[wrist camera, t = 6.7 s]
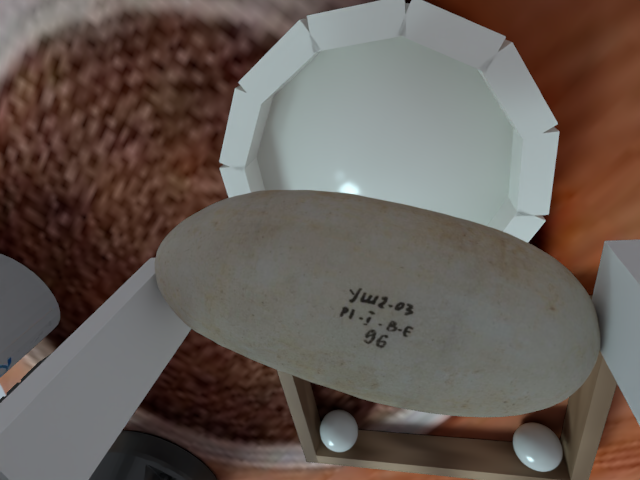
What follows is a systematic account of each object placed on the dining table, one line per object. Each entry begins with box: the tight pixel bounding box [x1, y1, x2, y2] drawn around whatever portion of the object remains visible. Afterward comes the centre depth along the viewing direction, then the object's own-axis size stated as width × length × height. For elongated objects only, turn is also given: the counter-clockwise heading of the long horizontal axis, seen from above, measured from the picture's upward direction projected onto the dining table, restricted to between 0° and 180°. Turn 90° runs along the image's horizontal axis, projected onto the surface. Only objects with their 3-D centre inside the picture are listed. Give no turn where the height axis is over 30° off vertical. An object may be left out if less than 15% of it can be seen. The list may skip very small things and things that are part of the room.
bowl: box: [219, 0, 560, 243], centre depth 19 cm, size 15×15×3 cm
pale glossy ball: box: [320, 410, 358, 452], centre depth 30 cm, size 3×3×3 cm
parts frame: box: [277, 295, 617, 480], centre depth 26 cm, size 20×15×2 cm
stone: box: [155, 190, 601, 417], centre depth 11 cm, size 6×6×12 cm
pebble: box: [513, 422, 563, 472], centre depth 26 cm, size 3×3×3 cm
